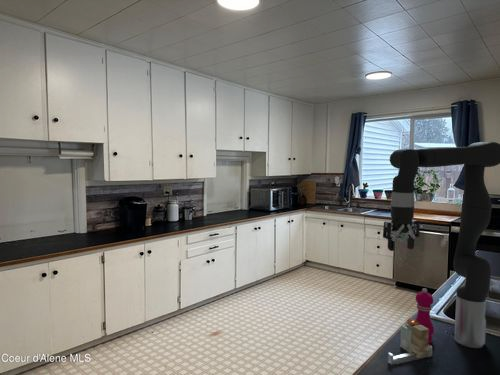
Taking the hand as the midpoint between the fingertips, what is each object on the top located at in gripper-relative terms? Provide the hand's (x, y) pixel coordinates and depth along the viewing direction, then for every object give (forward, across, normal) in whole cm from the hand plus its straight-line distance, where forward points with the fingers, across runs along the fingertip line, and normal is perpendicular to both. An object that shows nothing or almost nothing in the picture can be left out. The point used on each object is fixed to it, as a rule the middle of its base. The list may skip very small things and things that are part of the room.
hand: (400, 249), depth 123 cm
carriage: (+35, -2, +8) cm, 36 cm away
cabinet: (+36, -4, +3) cm, 36 cm away
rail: (+36, +2, +8) cm, 37 cm away
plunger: (+32, -4, +3) cm, 32 cm away
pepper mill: (+36, -13, -1) cm, 39 cm away
